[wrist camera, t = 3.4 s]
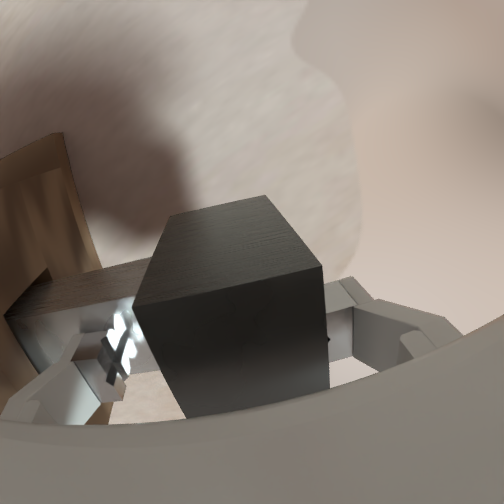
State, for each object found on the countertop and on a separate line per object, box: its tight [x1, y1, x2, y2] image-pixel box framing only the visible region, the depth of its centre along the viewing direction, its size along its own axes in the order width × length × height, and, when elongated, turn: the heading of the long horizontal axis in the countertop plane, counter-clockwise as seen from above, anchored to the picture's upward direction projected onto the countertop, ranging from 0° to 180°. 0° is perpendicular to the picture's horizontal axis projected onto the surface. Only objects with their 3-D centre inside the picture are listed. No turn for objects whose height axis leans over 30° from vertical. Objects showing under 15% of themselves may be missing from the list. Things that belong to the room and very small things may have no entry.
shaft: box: [3, 195, 330, 419], centre depth 10 cm, size 5×20×7 cm, turn 101°
